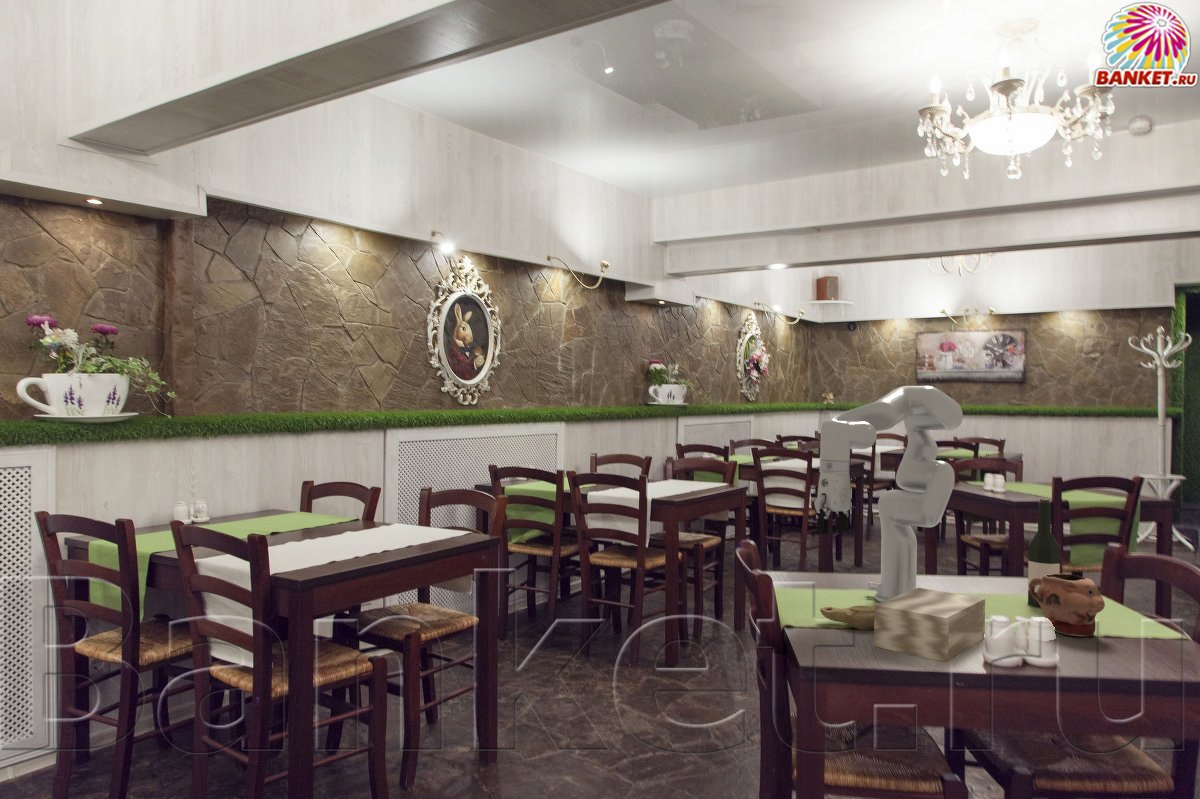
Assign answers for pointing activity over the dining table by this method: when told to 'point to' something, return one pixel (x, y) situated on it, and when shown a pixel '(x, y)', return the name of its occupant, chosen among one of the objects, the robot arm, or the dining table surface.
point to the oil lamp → (852, 616)
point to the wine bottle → (1042, 550)
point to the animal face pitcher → (1068, 602)
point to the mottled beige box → (929, 623)
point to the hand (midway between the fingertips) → (832, 532)
